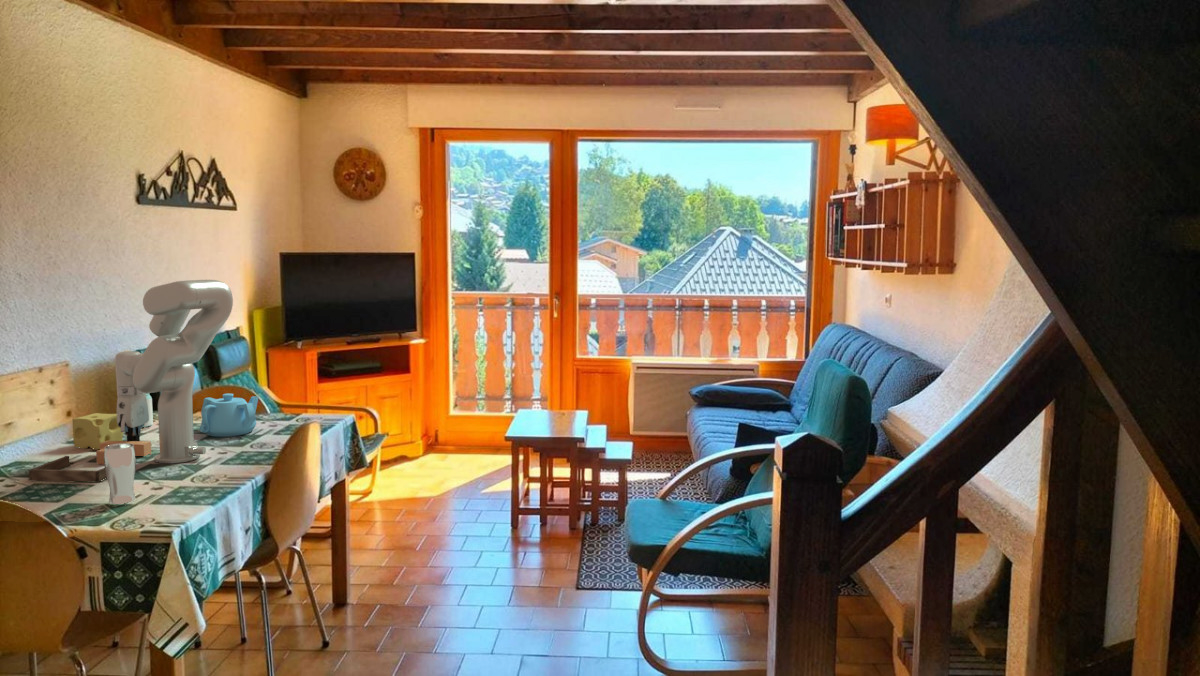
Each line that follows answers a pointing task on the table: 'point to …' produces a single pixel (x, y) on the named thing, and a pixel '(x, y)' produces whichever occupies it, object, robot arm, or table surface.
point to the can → (149, 410)
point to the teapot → (228, 416)
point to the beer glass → (120, 472)
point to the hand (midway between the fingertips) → (133, 446)
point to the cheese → (95, 430)
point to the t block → (139, 446)
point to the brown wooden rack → (64, 472)
